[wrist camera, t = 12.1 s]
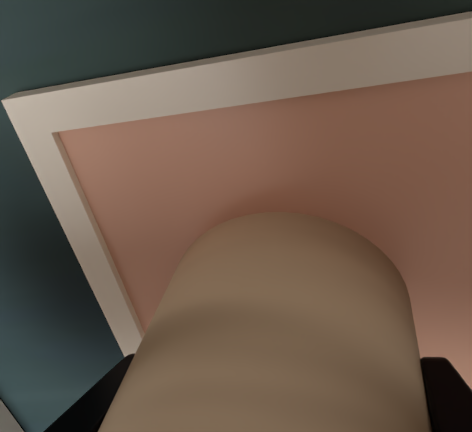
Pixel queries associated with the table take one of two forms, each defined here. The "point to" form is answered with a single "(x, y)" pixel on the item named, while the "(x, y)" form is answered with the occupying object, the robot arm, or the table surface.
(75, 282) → the table surface
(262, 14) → the table surface
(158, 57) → the table surface
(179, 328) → the tan lidded jar
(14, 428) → the dome base
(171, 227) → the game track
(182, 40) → the table surface
